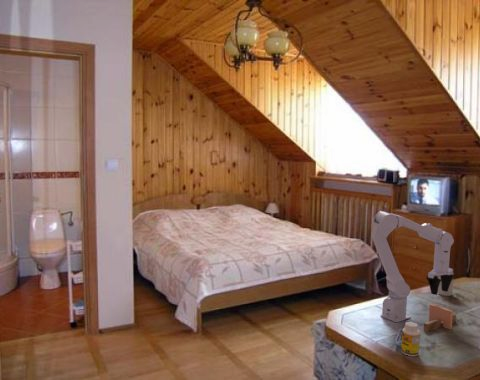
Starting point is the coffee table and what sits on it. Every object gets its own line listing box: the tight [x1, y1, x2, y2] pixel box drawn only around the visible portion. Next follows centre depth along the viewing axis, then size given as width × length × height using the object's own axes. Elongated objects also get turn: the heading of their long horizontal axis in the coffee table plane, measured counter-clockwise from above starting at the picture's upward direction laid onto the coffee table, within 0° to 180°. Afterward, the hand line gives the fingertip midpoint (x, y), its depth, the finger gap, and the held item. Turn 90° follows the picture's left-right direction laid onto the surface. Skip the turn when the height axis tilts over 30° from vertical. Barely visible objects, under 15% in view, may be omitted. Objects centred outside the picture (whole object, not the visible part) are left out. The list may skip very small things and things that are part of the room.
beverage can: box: [437, 273, 455, 297], centre depth 210 cm, size 6×6×12 cm
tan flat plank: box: [428, 303, 454, 330], centre depth 173 cm, size 9×1×7 cm, turn 34°
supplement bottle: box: [400, 321, 421, 357], centre depth 148 cm, size 6×6×10 cm
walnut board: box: [423, 313, 457, 333], centre depth 172 cm, size 20×1×3 cm, turn 124°
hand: (439, 292), depth 181 cm, fingers open, 7 cm apart
